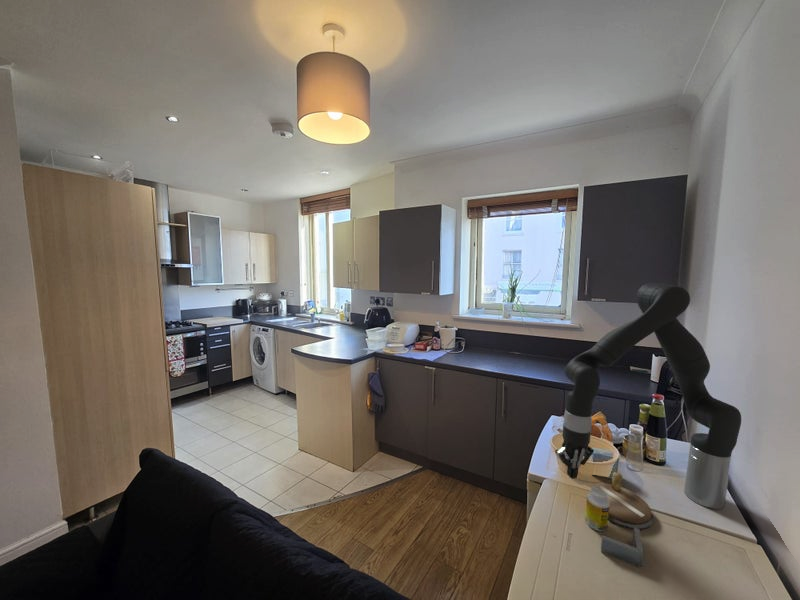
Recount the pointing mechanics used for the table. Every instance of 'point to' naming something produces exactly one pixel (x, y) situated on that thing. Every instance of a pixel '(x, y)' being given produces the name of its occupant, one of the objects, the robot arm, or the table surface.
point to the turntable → (625, 503)
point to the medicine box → (604, 458)
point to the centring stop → (624, 549)
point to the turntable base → (631, 526)
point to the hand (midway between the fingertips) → (572, 476)
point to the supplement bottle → (597, 509)
